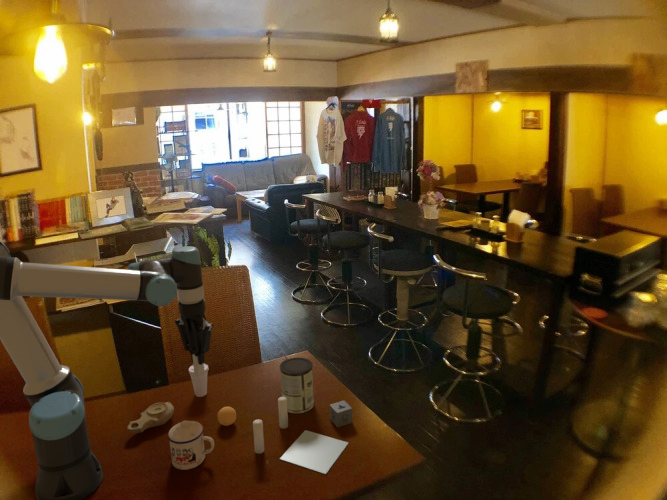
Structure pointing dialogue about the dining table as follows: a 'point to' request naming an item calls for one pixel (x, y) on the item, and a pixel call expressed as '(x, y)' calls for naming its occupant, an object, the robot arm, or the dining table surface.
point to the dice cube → (340, 413)
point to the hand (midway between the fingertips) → (199, 372)
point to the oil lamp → (152, 417)
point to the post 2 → (283, 412)
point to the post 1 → (258, 436)
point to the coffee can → (297, 384)
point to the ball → (226, 416)
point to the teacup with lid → (188, 444)
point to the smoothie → (199, 381)
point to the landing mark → (314, 451)
